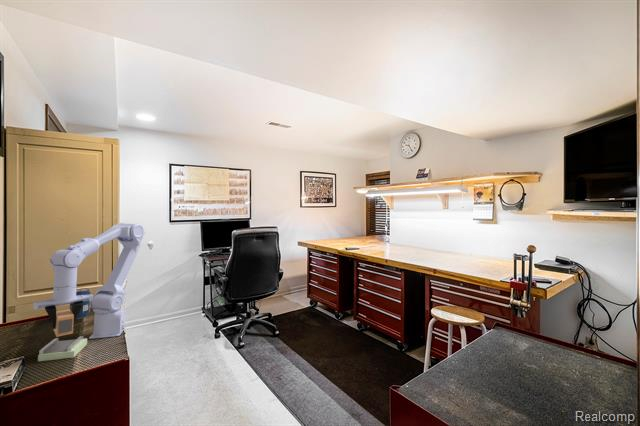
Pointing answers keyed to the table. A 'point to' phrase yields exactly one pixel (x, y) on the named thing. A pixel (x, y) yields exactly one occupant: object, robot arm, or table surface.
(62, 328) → the tan tapered column
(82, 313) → the soda can
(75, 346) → the green rimmed tray
